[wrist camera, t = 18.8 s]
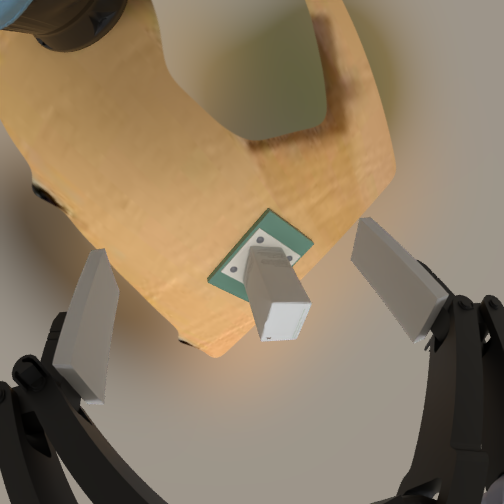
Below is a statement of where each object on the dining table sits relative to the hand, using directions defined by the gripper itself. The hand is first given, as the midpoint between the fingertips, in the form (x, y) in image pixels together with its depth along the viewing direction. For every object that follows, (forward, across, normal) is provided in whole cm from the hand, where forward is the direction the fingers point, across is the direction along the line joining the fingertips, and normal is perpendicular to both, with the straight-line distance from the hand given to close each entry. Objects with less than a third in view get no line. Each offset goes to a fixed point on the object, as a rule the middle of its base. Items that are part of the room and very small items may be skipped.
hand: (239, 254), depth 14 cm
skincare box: (+30, +9, -24) cm, 40 cm away
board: (+32, +9, -24) cm, 41 cm away
